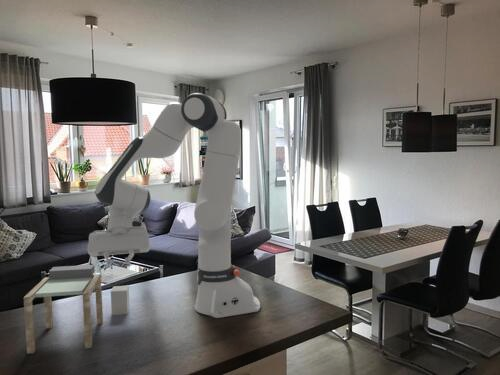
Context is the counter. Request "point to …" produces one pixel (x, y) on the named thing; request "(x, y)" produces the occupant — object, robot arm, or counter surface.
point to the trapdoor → (67, 281)
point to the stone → (120, 300)
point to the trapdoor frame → (49, 317)
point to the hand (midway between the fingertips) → (118, 264)
